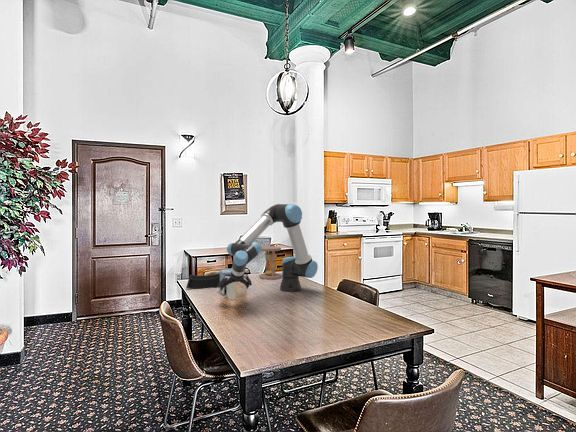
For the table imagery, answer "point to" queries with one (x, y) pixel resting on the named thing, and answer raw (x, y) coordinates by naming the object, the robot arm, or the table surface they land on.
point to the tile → (231, 291)
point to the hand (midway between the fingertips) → (233, 291)
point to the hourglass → (270, 257)
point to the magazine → (203, 281)
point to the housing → (222, 275)
